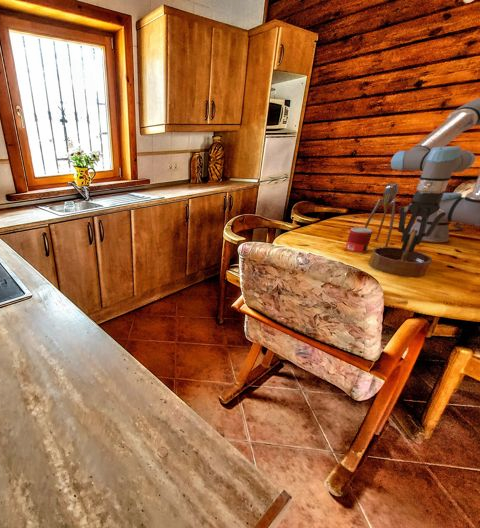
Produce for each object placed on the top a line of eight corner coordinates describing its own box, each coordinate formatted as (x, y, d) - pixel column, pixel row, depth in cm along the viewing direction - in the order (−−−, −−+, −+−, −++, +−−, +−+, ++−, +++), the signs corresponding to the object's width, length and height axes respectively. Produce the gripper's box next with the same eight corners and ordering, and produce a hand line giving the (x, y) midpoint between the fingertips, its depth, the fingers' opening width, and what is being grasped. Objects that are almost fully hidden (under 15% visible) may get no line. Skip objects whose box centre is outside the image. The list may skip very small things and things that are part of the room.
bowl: (377, 257, 126) (382, 244, 123) (431, 270, 112) (438, 255, 109) (360, 267, 117) (365, 253, 115) (416, 282, 103) (423, 267, 101)
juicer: (376, 240, 145) (396, 181, 133) (387, 247, 135) (408, 184, 123) (354, 239, 148) (371, 181, 136) (363, 246, 138) (381, 185, 126)
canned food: (366, 255, 128) (374, 232, 124) (345, 252, 132) (351, 230, 128) (364, 249, 134) (371, 228, 130) (344, 247, 138) (350, 226, 134)
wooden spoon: (397, 261, 117) (409, 227, 111) (410, 264, 114) (424, 229, 108) (392, 264, 115) (405, 229, 109) (406, 267, 112) (420, 231, 106)
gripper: (399, 190, 107) (380, 247, 116) (455, 195, 95) (429, 258, 105) (406, 188, 110) (387, 243, 120) (461, 192, 99) (435, 253, 108)
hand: (407, 250), depth 112 cm, fingers closed on wooden spoon, 2 cm apart
